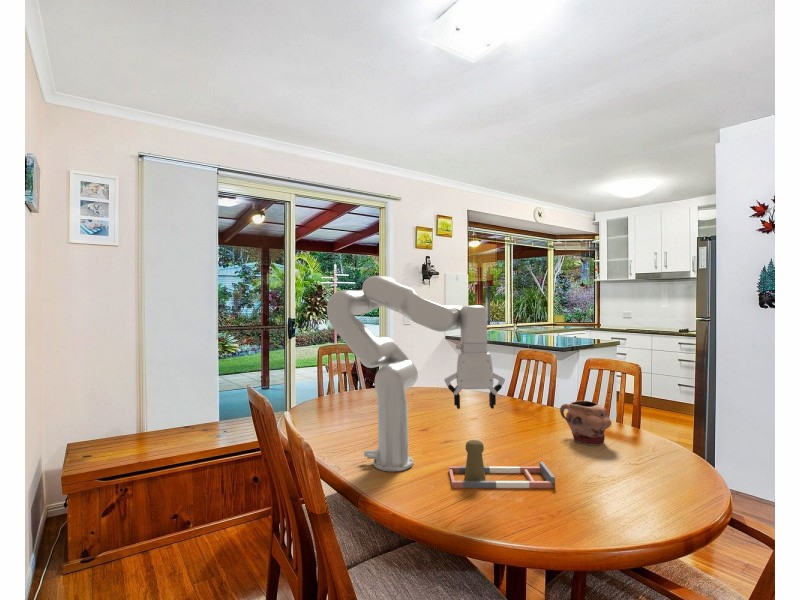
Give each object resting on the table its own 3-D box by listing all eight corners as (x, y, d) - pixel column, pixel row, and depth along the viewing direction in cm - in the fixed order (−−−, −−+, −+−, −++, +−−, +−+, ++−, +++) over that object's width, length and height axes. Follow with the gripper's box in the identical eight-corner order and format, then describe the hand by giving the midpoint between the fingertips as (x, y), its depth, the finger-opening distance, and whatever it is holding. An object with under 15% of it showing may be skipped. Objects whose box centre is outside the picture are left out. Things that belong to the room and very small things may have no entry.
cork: (469, 485, 118) (469, 445, 118) (461, 476, 124) (460, 438, 124) (489, 482, 120) (489, 443, 120) (479, 473, 126) (479, 436, 126)
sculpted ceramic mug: (549, 437, 158) (549, 399, 158) (567, 430, 165) (567, 395, 165) (603, 452, 142) (602, 410, 142) (620, 444, 149) (620, 404, 149)
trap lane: (452, 487, 117) (452, 476, 117) (448, 471, 128) (448, 461, 128) (555, 488, 116) (555, 477, 116) (542, 471, 127) (542, 461, 127)
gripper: (445, 350, 119) (446, 411, 119) (507, 349, 118) (508, 410, 118) (442, 347, 126) (443, 404, 126) (501, 346, 126) (502, 404, 126)
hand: (474, 407), depth 122 cm, fingers open, 9 cm apart
